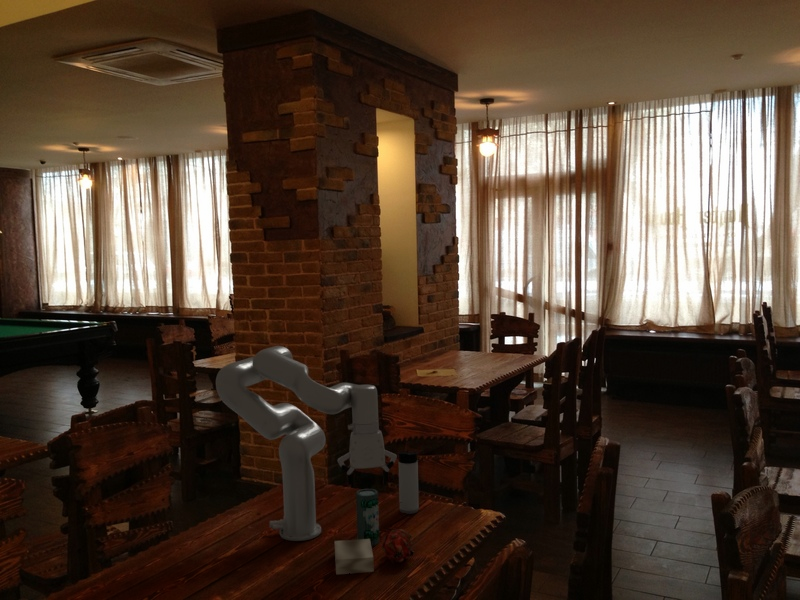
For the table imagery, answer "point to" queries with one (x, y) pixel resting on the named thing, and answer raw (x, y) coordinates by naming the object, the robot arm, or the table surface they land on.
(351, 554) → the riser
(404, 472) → the travel mug
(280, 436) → the robot arm
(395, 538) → the dragon fruit
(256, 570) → the table surface
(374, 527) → the can
